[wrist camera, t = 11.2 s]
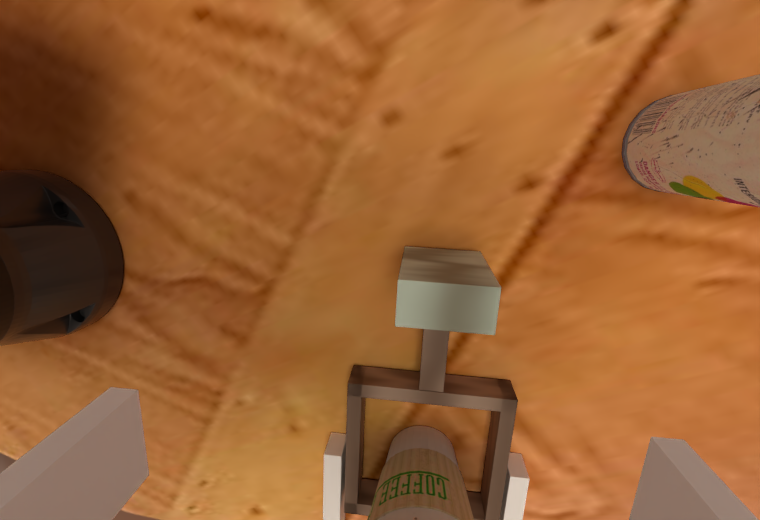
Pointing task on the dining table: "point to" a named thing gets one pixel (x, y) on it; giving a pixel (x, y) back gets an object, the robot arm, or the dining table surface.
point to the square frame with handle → (437, 367)
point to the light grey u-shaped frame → (336, 482)
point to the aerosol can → (700, 143)
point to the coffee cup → (421, 479)
